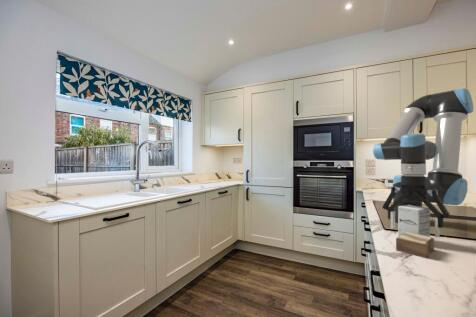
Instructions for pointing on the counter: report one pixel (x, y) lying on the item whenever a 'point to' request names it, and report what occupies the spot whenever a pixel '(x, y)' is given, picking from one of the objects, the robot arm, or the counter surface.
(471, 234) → the counter surface
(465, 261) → the counter surface
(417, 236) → the brown wooden block
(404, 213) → the supplement box
